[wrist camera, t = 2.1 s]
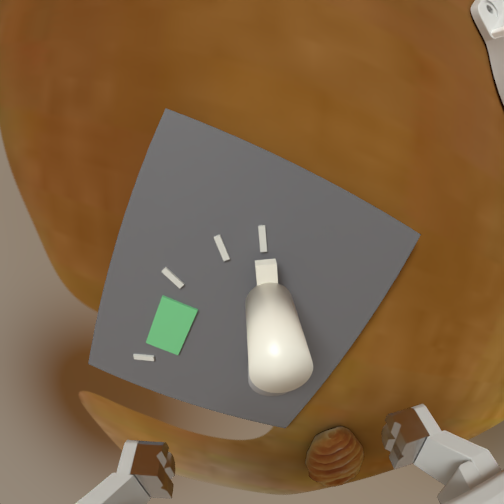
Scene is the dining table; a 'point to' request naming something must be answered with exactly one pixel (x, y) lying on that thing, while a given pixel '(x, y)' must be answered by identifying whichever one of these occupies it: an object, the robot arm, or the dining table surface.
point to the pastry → (334, 457)
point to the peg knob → (274, 336)
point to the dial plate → (236, 269)
